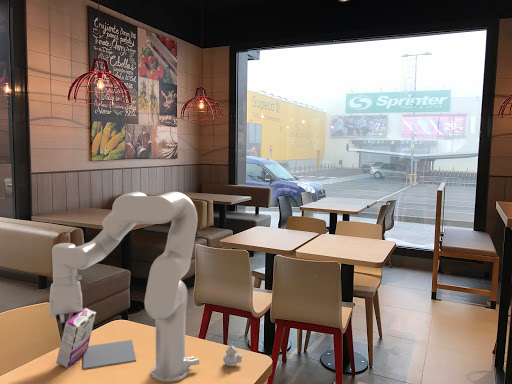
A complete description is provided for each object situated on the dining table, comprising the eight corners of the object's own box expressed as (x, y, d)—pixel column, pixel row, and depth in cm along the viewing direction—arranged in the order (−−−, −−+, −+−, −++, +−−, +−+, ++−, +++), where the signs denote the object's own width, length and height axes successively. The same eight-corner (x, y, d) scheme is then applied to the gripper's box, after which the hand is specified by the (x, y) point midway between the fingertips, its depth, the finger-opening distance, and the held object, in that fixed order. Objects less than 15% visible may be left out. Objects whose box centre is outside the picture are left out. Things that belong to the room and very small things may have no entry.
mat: (132, 341, 163) (131, 339, 163) (136, 361, 148) (136, 359, 148) (84, 347, 157) (83, 346, 157) (83, 369, 142) (83, 368, 142)
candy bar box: (74, 345, 154) (85, 306, 150) (87, 351, 153) (97, 312, 149) (54, 363, 143) (65, 321, 139) (67, 369, 142) (78, 327, 139)
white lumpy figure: (224, 360, 150) (224, 339, 149) (242, 361, 150) (243, 339, 149) (222, 368, 145) (222, 346, 144) (241, 369, 144) (242, 347, 144)
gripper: (89, 274, 151) (90, 324, 153) (41, 278, 145) (43, 330, 147) (89, 281, 144) (90, 333, 146) (39, 285, 138) (41, 339, 140)
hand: (67, 331), depth 146 cm, fingers closed
